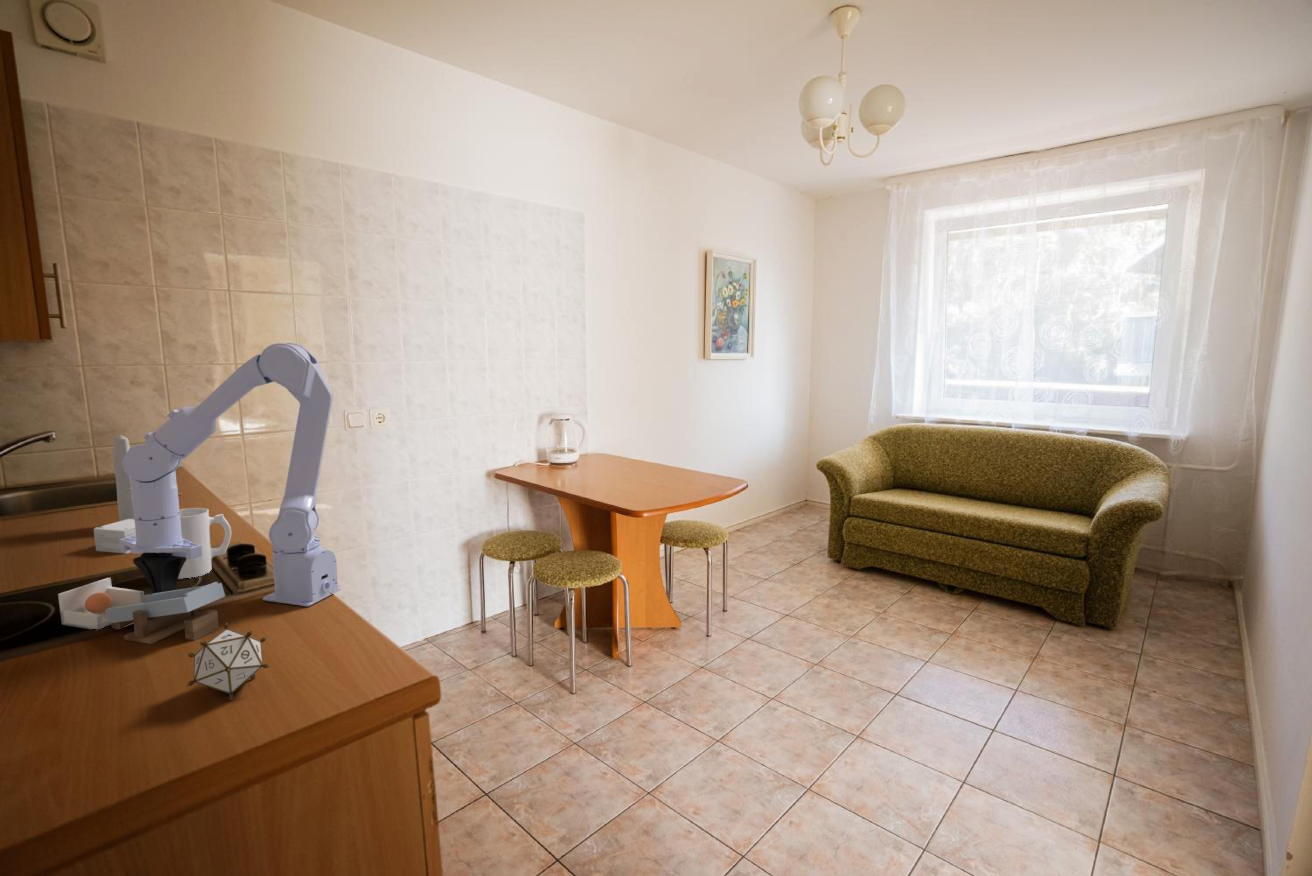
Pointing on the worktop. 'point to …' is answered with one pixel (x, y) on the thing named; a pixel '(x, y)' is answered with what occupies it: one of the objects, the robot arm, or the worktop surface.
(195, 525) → the mug
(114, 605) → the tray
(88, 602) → the ball
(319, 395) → the robot arm
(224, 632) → the game die
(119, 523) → the small box
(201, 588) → the lever
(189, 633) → the fulcrum
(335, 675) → the worktop surface
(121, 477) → the tall pale column
